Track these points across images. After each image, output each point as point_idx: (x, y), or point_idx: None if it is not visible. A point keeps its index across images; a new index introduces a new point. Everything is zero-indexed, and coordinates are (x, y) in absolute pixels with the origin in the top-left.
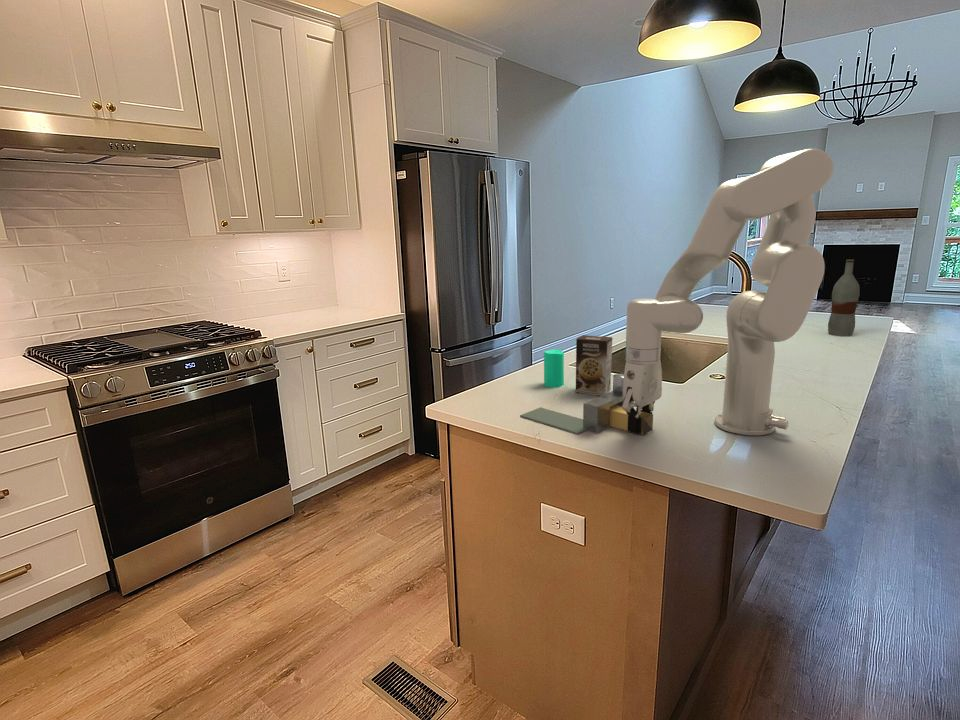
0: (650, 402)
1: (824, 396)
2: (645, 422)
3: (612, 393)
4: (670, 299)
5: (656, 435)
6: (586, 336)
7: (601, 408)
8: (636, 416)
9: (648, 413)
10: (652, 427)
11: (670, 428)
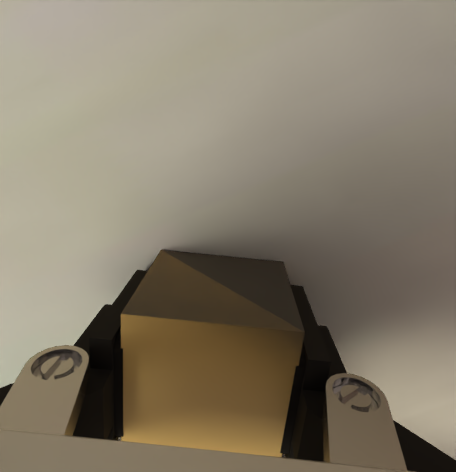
0: (251, 465)
1: None
2: (273, 304)
3: None
4: None
5: (231, 190)
6: None
7: None
8: (380, 405)
9: (135, 355)
10: (156, 258)
11: (39, 161)
